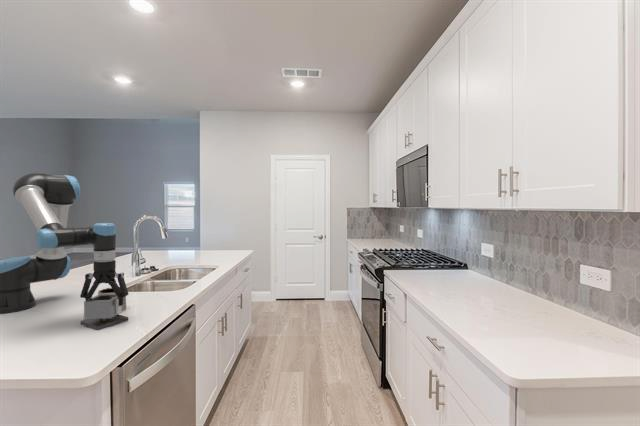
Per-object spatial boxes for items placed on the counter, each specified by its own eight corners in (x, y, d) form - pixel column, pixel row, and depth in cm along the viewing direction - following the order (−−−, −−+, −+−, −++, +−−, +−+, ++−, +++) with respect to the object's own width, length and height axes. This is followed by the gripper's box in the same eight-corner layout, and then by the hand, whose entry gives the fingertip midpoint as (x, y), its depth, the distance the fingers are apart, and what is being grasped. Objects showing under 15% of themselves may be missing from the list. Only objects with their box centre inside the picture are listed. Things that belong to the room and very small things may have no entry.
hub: (80, 324, 127) (80, 302, 127) (111, 315, 137) (111, 295, 137) (96, 330, 121) (96, 307, 121) (128, 320, 132) (128, 299, 132)
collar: (84, 319, 124) (84, 301, 124) (98, 310, 134) (98, 294, 133) (111, 318, 125) (111, 301, 125) (123, 309, 135) (123, 293, 135)
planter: (93, 315, 138) (93, 293, 137) (103, 307, 148) (103, 287, 148) (121, 313, 140) (121, 292, 140) (129, 305, 151) (129, 286, 151)
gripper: (68, 262, 124) (69, 317, 124) (129, 261, 126) (129, 316, 127) (80, 259, 131) (81, 311, 132) (137, 258, 134) (137, 309, 134)
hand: (104, 313), depth 129 cm, fingers closed on collar, 10 cm apart
